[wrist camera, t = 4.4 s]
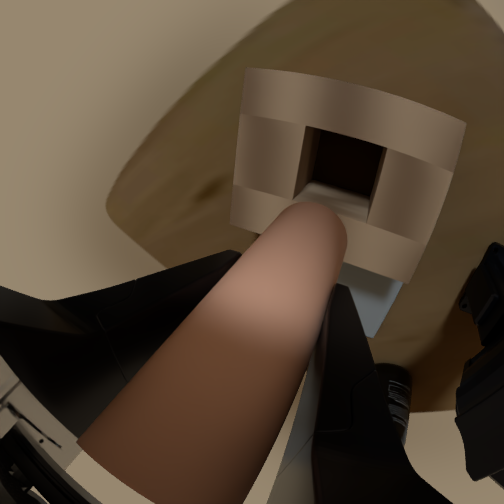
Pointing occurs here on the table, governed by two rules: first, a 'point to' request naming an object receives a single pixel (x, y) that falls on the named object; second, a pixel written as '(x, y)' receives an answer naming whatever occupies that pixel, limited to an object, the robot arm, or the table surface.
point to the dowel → (226, 370)
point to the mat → (369, 294)
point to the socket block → (333, 197)
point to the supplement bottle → (396, 394)
